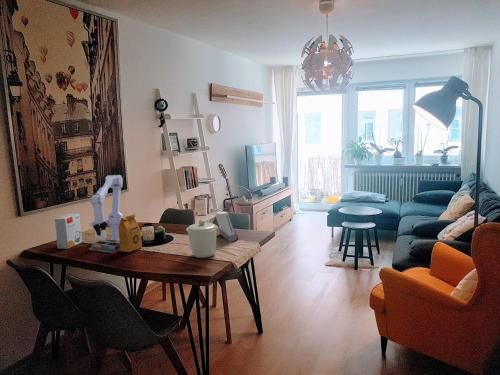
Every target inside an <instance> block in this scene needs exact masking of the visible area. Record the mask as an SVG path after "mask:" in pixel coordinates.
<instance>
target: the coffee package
mask: <svg viewBox="0 0 500 375" xmlns="http://www.w3.org/2000/svg"><path fill="white" fill-rule="evenodd" d="M135 217H136V215H135V214H134V213H133V214H130V215H126V216H124V217H123V218H121V220H120V224H119V240H118V241H119V242H118V243H120V250H119V252H121V253H122V252H125V253H130V252H134V251H137V250H139V249H142V247H143V242H142V241H143V240H142V231H141V228H140V226H139V224H138V222H137V221H136V218H135Z"/></svg>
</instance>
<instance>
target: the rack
mask: <svg viewBox="0 0 500 375" xmlns="http://www.w3.org/2000/svg"><path fill="white" fill-rule="evenodd" d="M88 250H89V251H94V252H102V253H108V254H114V253H116V252H120V243H119V242H117V241H111V240H110V241H109V240H104V239H100V240H98V241H95V242H92V243H91V247H90V248H89V249H88Z"/></svg>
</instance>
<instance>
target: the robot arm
mask: <svg viewBox="0 0 500 375" xmlns="http://www.w3.org/2000/svg"><path fill="white" fill-rule="evenodd" d="M104 181H105V182H104V183H103V185H102V187H99V189H98V190H97V192H96V193H95V194H94V195H92V196H91V197H90V203H91V207H92V209H93V217H94V220H93V221H92V222H90V223H88V224H89V227H92V228H93V229H94V232H95V231H96V233H97V235H98V236H100V235H101V232H100V230H106V231H107V229H106V228H107V226H108V227H109V228H110V233H111V238H109V240H110V241H115V242H117V241H119V224H120V220H121V218H123V217H125V216H124V214H123V213H121V195H122V194H121V193H122V192H121V191H122V188H123V185H124V184H123V183H124V179H123V176H122V175H120V174H118V175H117V174H114V175H109V174H108V175H106V176H105V180H104ZM110 188H111V189H112V207H111V212H110V213H109V214H108V217H106V218H105V212H104V202H105V199H106V198H105V197H107V195H108V192H109V191H108V190H109V189H110ZM109 240H108V241H109Z"/></svg>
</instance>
